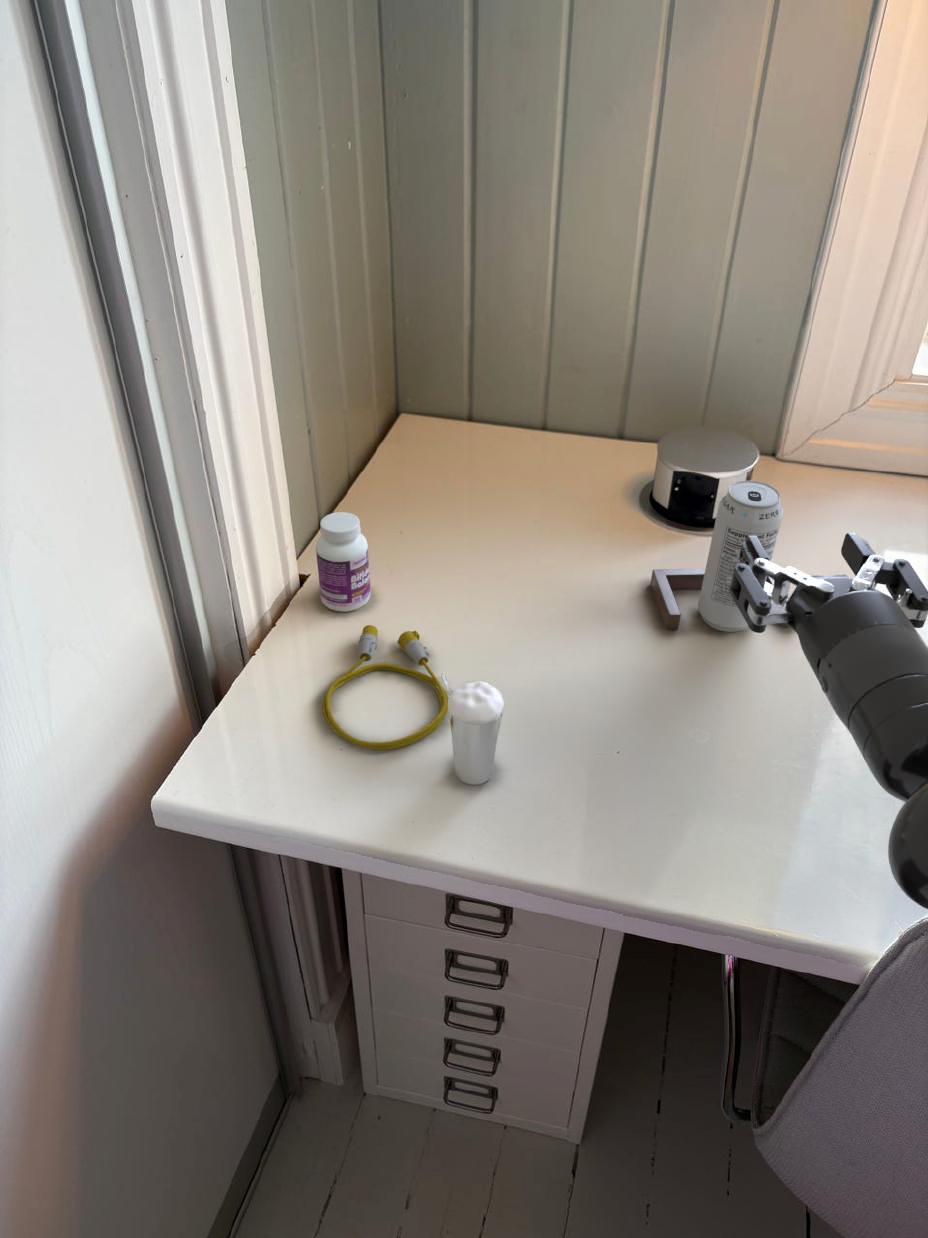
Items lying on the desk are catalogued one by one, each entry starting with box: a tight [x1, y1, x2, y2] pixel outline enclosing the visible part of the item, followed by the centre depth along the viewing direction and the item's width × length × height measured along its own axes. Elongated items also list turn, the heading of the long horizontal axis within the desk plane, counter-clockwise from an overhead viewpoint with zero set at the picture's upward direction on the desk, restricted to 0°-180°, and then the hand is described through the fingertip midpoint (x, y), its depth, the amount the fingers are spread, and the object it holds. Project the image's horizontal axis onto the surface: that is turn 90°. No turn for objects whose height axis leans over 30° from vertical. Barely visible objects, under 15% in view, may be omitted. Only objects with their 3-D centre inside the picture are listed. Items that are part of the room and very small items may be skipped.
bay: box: [649, 567, 791, 631], centre depth 99 cm, size 8×13×2 cm, turn 93°
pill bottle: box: [315, 511, 371, 613], centre depth 97 cm, size 5×5×10 cm
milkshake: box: [440, 672, 505, 786], centre depth 77 cm, size 4×5×10 cm
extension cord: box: [322, 624, 449, 751], centre depth 87 cm, size 12×16×2 cm
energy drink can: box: [697, 480, 784, 633], centre depth 93 cm, size 6×6×15 cm
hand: (797, 542), depth 79 cm, fingers open, 8 cm apart
